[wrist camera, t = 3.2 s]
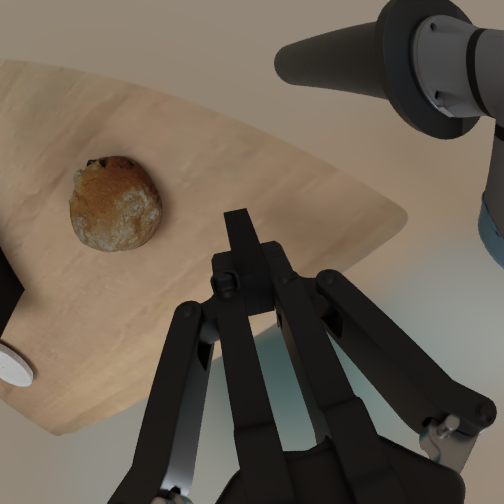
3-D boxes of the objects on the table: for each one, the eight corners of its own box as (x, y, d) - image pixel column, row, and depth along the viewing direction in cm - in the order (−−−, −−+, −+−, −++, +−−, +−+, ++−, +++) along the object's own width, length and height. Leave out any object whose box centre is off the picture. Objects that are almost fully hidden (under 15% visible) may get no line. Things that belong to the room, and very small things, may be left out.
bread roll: (98, 220, 33) (94, 276, 29) (57, 165, 24) (40, 226, 20) (170, 199, 33) (174, 257, 29) (141, 133, 24) (136, 192, 20)
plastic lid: (-5, 328, 35) (-10, 338, 33) (45, 372, 43) (42, 382, 41) (-27, 343, 36) (-30, 352, 34) (17, 381, 44) (14, 389, 42)
